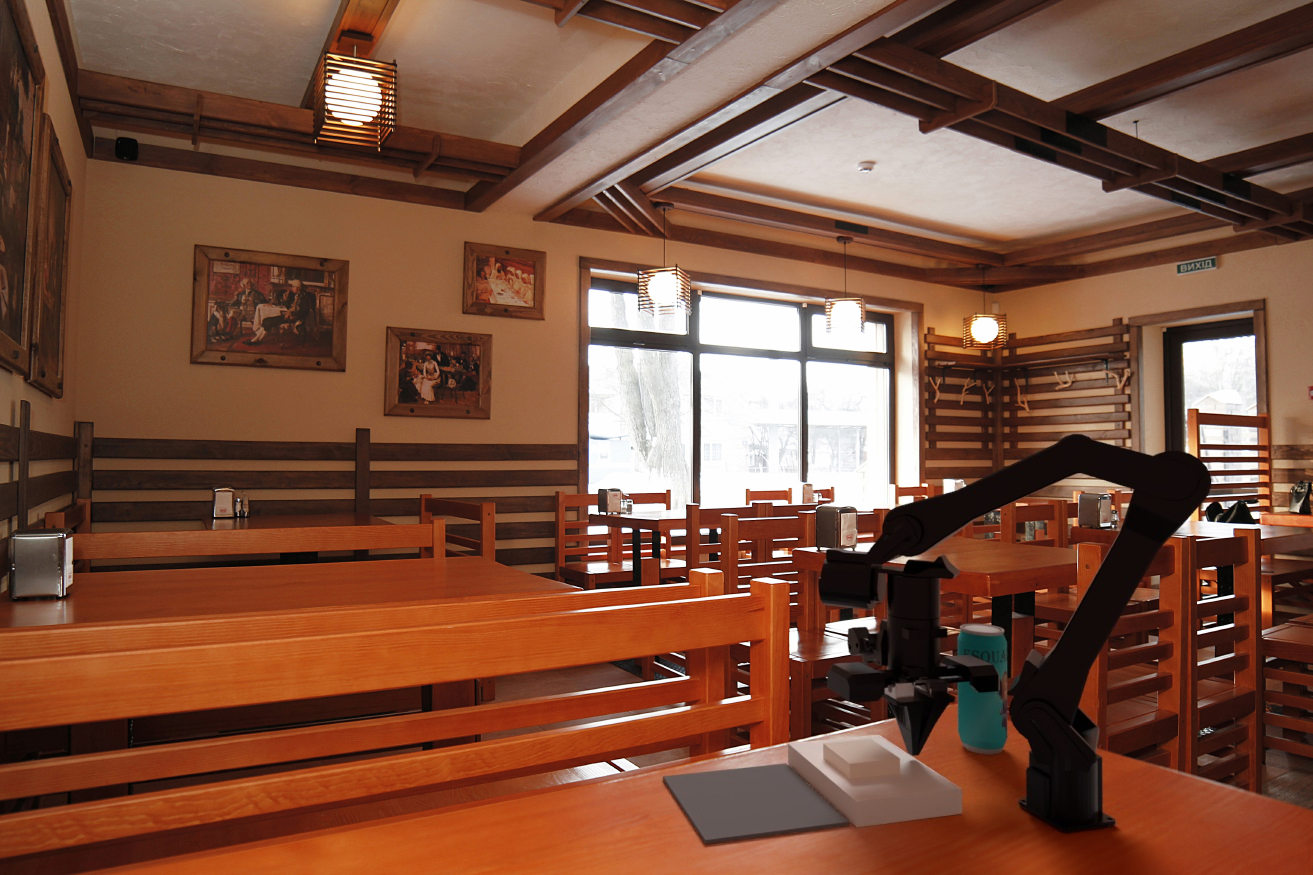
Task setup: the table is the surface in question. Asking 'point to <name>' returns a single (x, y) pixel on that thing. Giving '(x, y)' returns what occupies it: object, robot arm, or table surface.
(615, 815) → the table surface
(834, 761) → the cream rectangular block
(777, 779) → the charcoal mat
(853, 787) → the light grey rectangular box
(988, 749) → the beverage can
